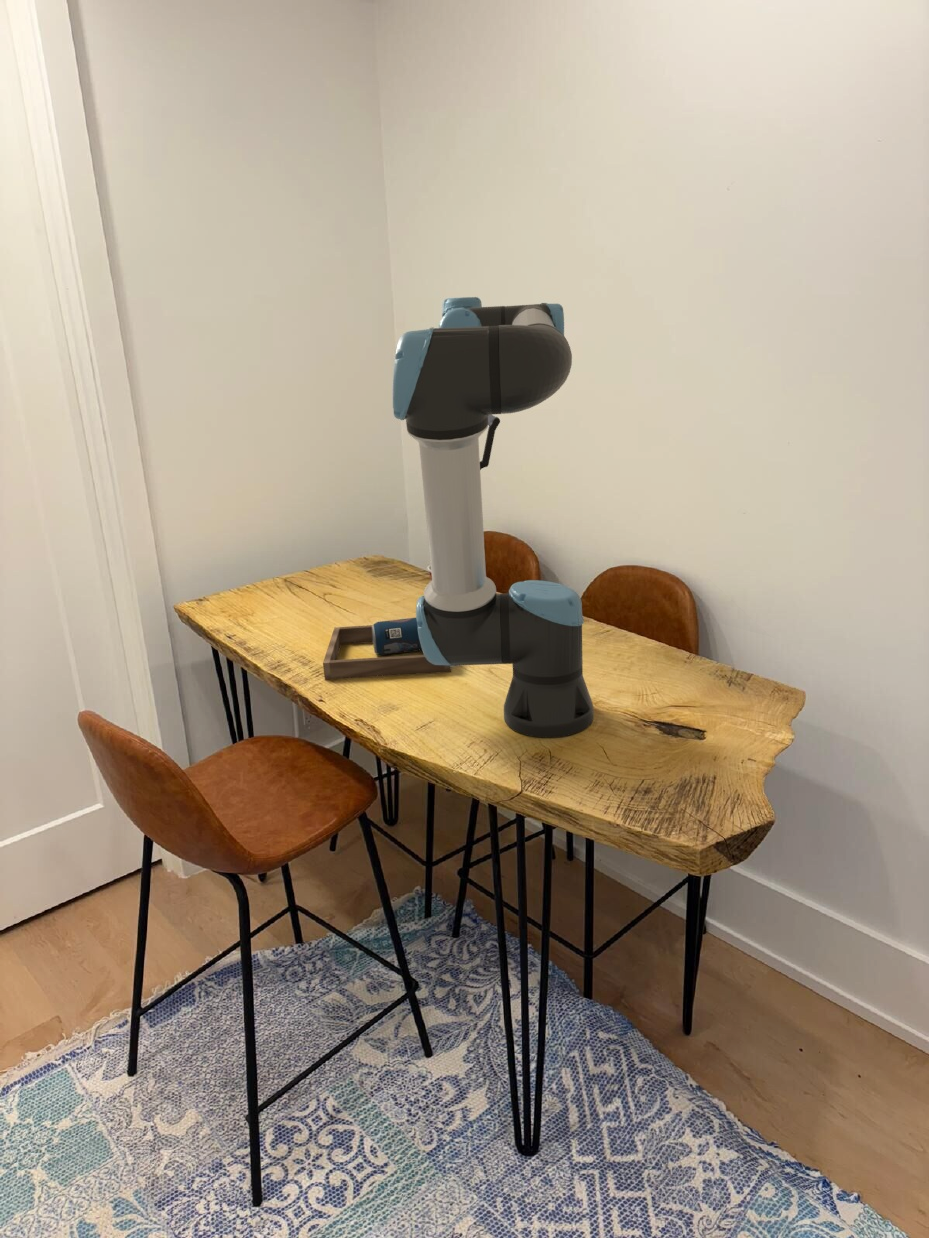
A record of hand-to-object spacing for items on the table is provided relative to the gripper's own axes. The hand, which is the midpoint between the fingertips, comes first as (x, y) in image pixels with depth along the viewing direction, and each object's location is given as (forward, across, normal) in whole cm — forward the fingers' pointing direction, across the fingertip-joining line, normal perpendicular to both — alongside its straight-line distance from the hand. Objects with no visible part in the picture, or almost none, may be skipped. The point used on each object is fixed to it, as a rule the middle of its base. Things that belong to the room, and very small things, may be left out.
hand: (471, 502), depth 170 cm
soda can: (+26, +22, +6) cm, 35 cm away
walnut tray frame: (+29, +18, +8) cm, 36 cm away
